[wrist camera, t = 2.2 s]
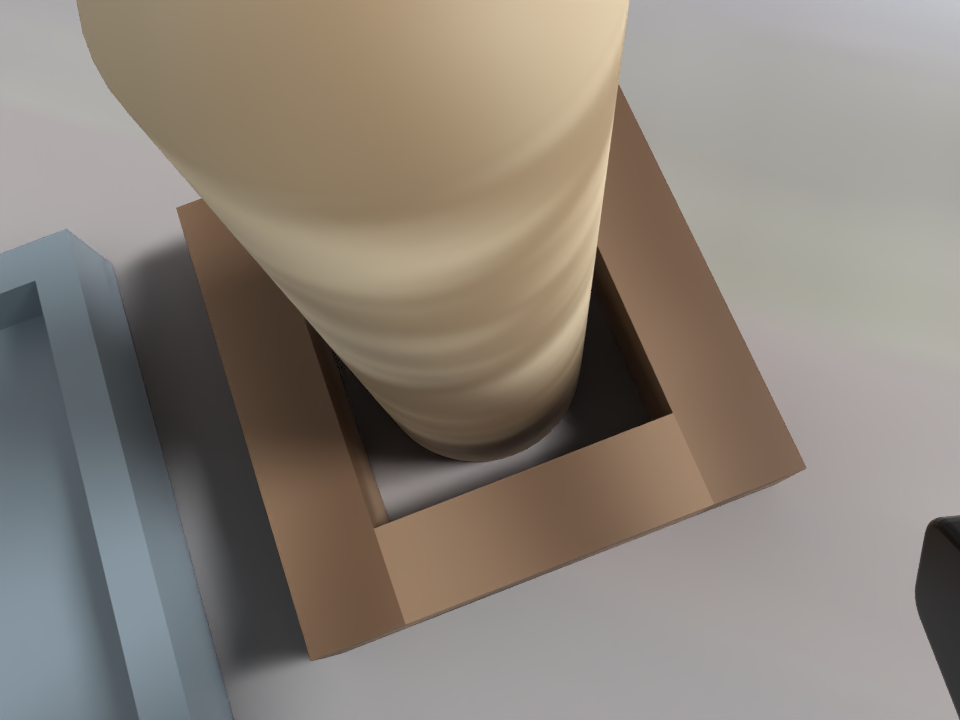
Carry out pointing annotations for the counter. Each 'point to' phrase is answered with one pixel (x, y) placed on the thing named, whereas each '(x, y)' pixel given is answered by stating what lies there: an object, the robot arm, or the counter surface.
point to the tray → (88, 511)
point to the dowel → (398, 181)
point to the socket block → (520, 497)
